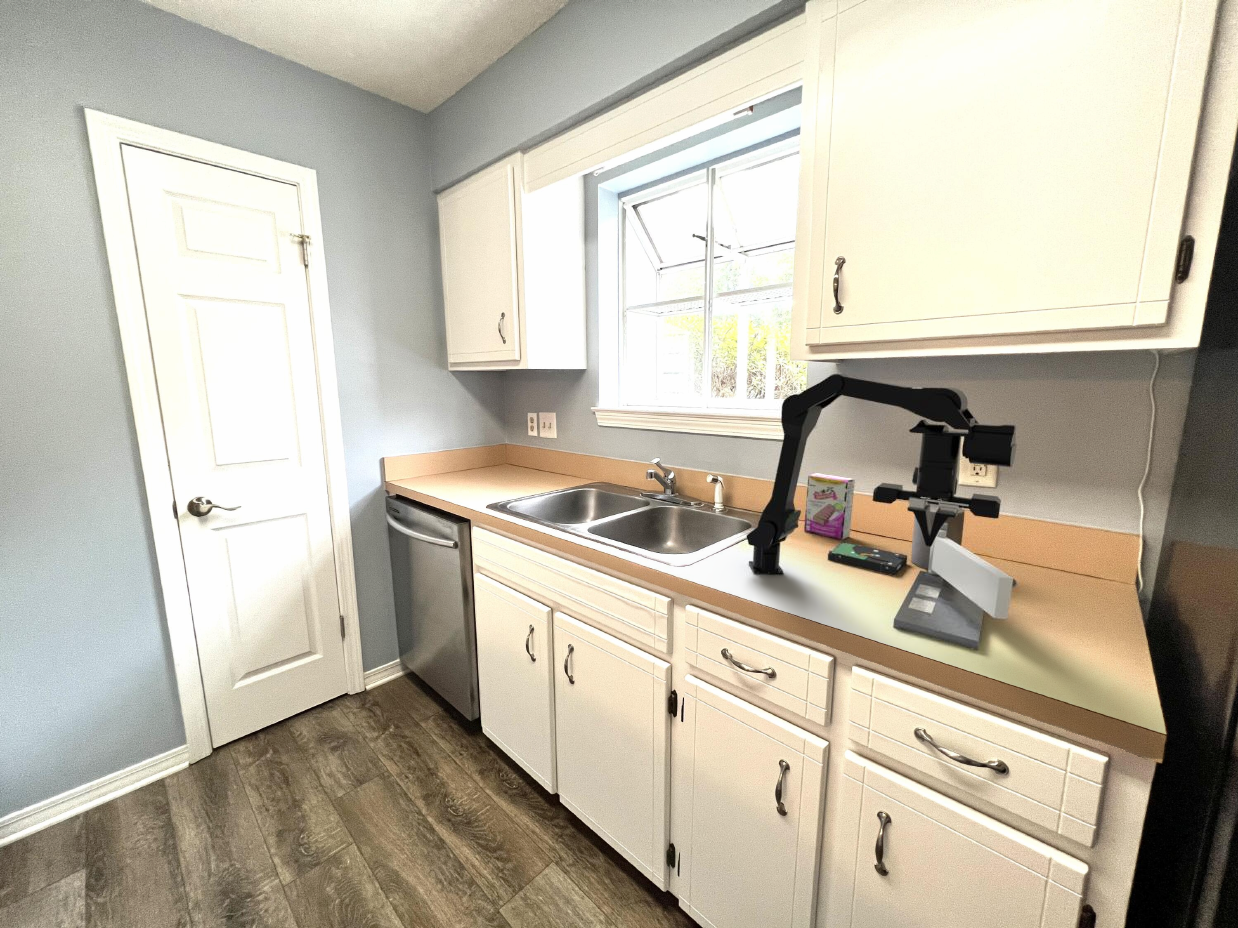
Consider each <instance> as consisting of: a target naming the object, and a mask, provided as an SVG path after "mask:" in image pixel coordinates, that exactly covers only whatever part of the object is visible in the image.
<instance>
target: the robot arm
mask: <svg viewBox="0 0 1238 928" xmlns="http://www.w3.org/2000/svg"><path fill="white" fill-rule="evenodd" d="M841 396H845V397H849V398H854V399H858V400H862V401H868V402H873V403H874V402H875V403H878V404H882V405H883V404H884V405H888V406H892V407H893V406H894V407H898V408H900V409H903V410H906V411H908V412H910V413H912V414H914V415H916V416H919V417H921V418H923V419H920V420H919V421H918V423H916V424H915V425H914V426H913V427H911V428H909V430H908V432H909V433H911V434H922V435H921V441H920V442H921V443H920V451H919V452H920V454H919V459H918V466H917V467H916V466H915V467H914V470H913V474H912V479H911V480H912V484H913V485H914V486H916V489H915V490H916V491H913V490H907V489H904V487H903V485H902V484H896V483H887V482H882V483H880V484H878V486H876V487H875V488H874V489H873V492H872V502H875V503H880V504H881V503H882V504H888V505H891V504H893V503H894V502H896V501H897V500H900V501H908V507H907V509H906V510H907V511H908V512H912V513H913V514H914V518H915V517H916V519H917V521H918V523H919V526H920V529H921V532H922V535H923V538H924V541H925V544H926V546H929V547H931V546H932V544H933V542H934V540H935V538H936V536H937V534H938V532H939V530H940V528H941V527H942V525H943V524H944V523H945V521H946V520H947V519H948V518H949V517H952V518H955V517H956V516H957V514H958V512H959V508H962V509H964V510H965V509H966V510H969V512H970V513H972V515H973V516H975V517H979V518H987V519H999V517H1000V510H1001V505H1002V504H1001V503H1002V499H1000V497H999V496H996V495H989V494H982V493H981V494H979V493H973V494H972V496H971V497H963V496H956V495H957V489H958V477H957V474H958V467H959V466H958V465H959V458H960V457H959V456H960V449H961V455H962V458H963V457H964V459H968V462H969V464H972V465H973V464H974V465H975V464H976V465H982V466H983V465H984V466H994V467H1003V468H1004V467H1005V468H1012V467H1013V465H1014V462H1015V458H1016V452H1017V443H1016V440H1017V436H1016V435H1017V434H1016V430H1017V425H1016V424H1000V425H999V424H998V425H997V424H985V423H983V424H982V423H981V424H980V423H979V422H978V420H977V418H976V417H975V416H974V415H973V413H971V411H970V409H969V408H968V406H969V405H968V403H969V402H968V397H967V396H966V394H965V393H964V392H963V391H962V390H961V389H959V388H955V387H931V386H930V387H929V386H928V387H926V386H925V387H924V386H923V387H922V386H919V387H918V386H916V387H914V386H906V385H899V384H894V383H890V382H889V383H888V382H883V381H879V380H878V381H877V380H871V379H866V378H860V377H854V376H850V375H847V374H846V373H840V374H839V373H832V374H830V375H829V376H827V377H826V378H825V379H823V380H822V381H820V382H818V383H815V384H814V385H812V386H810V387H809V388H807V389H805V390H803V391H802V392H800V393H797V394H796V393H794V394H791V395H788V396H787V397H786V398H785V399H784V400H783V402H782V404H781V413H780V414H781V417H780V419H781V422H780V423H781V428H782V432H783V439H782V445H781V448H780V449H781V450H780V455H779V459H778V464H777V468H776V472H775V473H776V474H775V477H774V478H775V479H774V481H773V482H774V483H773V488H772V492H771V497H770V500H769V501H768V503H767V504H766V506H765V507H764V509H763V510H762V513H761V515H760V518H759V520H758V523H757V526H756V527H755V528H754V529H753V530H751V531H750V532H749V533H748V534H746V540H747V544H748V545H749V546H753V554H752V560H749V561H748V565H749V566H750V569H751V570H752V572H753V574H762V575H763V574H765V575H766V574H769V575H770V574H771V575H784V573H785V572H784V570H783V568H782V567H781V566H780V558H781V543H783V542H785V541H786V540H787V538H788V536H789V535H791V534H792V533H794V532H795V530H796V529H797V528H799V518H800V516H801V513H802V510H801V509H796V507H795V502H794V501H795V500H794V499H795V496H796V491H797V485H798V481H799V477H800V473H801V469H802V463H803V458H804V455H805V454H804V453H805V452H806V451H805V449H806V447H807V446H806V445H807V441H808V438H809V436H810V434H812V431H813V430H814V428H815V427H816V425H817V423H818V421H819V419H820V416H821V414H822V411H823V409H825V408H826V407H828V406H830V405H831V404H832V403H834V402H835V401H836V400H837V399H839V398H840V397H841ZM924 418H925V419H924ZM926 419H927V420H930V421H932V422H935V423H937V424H935V423H933V424H931V423H929V422H928V421H927V420H926ZM938 423H944V424H938ZM949 427H951V428H952V429H954V430H949ZM958 430H961V431H958ZM962 430H963V431H962ZM962 437H963V442H962ZM961 442H962V448H961ZM930 504H936V505H939V506H938V507H939V508H938V510H937V511H936V514H935V517H934V521H933V525H932V529H931V533H930V506H931V505H930Z"/></svg>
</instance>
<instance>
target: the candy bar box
mask: <svg viewBox="0 0 1238 928" xmlns="http://www.w3.org/2000/svg"><path fill="white" fill-rule="evenodd" d="M807 476H808V477H807V490H806V502H805V515H804V525H803V526H804V527H803V528H804V529H803V531H804V532H807V533H812V534H815V535H820V536H824V537H828V538H833V539H837V540H840V541H844V540H846V539H847V538H849V537H850V535H851V524H852V514H853V513H852V512H853V500H854V492H855V491H854V490H855V484H856V483H855V481H856V480H855V478H849V477H844V476H836V475H831V474H825V473H811V474H808V475H807Z"/></svg>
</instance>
